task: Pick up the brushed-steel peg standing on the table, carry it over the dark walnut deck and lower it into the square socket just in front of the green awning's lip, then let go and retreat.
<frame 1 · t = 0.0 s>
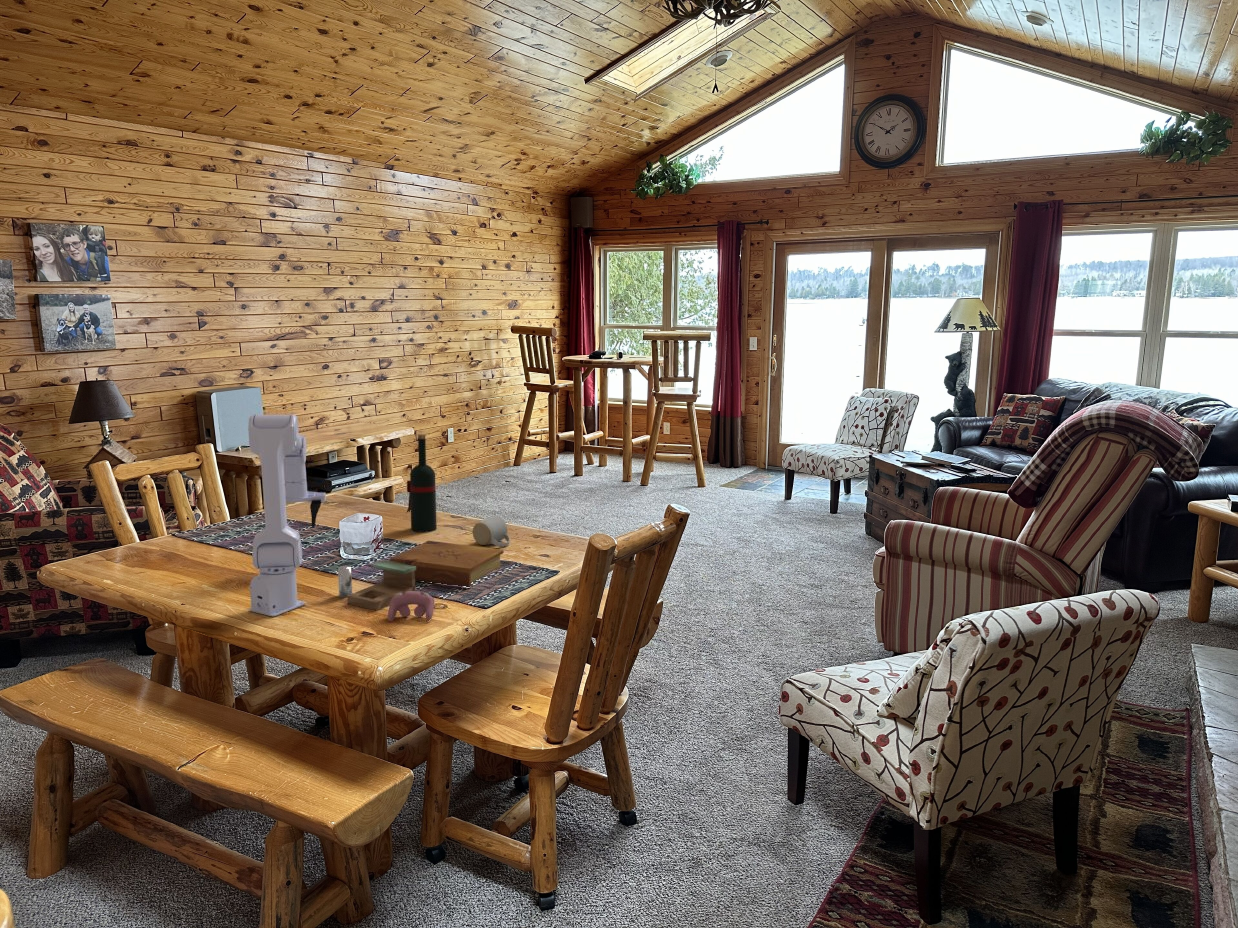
hand: (298, 527, 214), 11 cm above the table, tool pointing down, fingers open, 7 cm apart
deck: (382, 598, 192), on the table
peg: (345, 595, 194), on the table
video game controller: (411, 618, 181), on the table
diary: (448, 575, 213), on the table
wine bottle: (420, 529, 255), on the table
ceramic mug: (493, 544, 241), on the table
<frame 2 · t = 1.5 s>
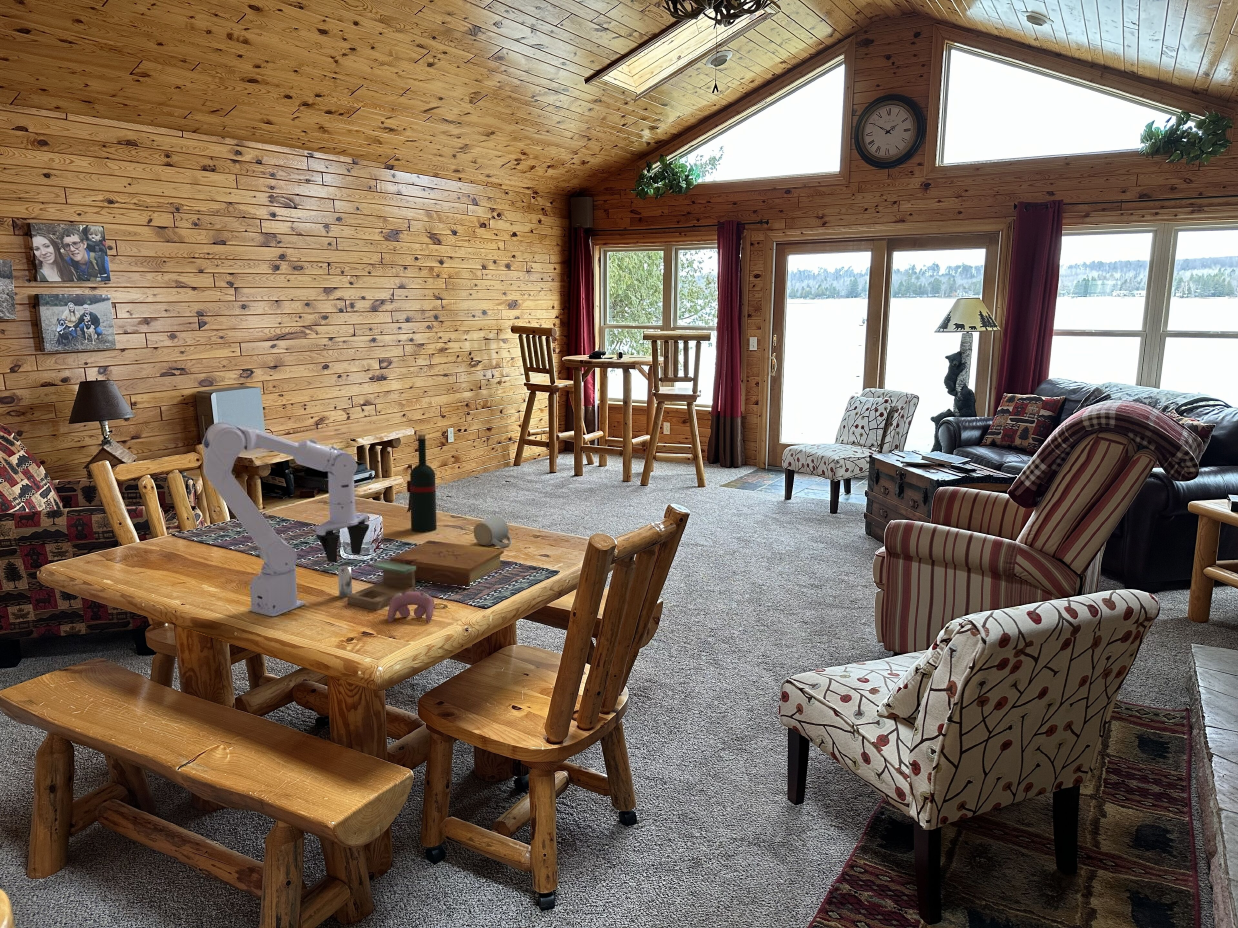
hand: (344, 557, 192), 9 cm above the table, tool pointing down, fingers open, 7 cm apart
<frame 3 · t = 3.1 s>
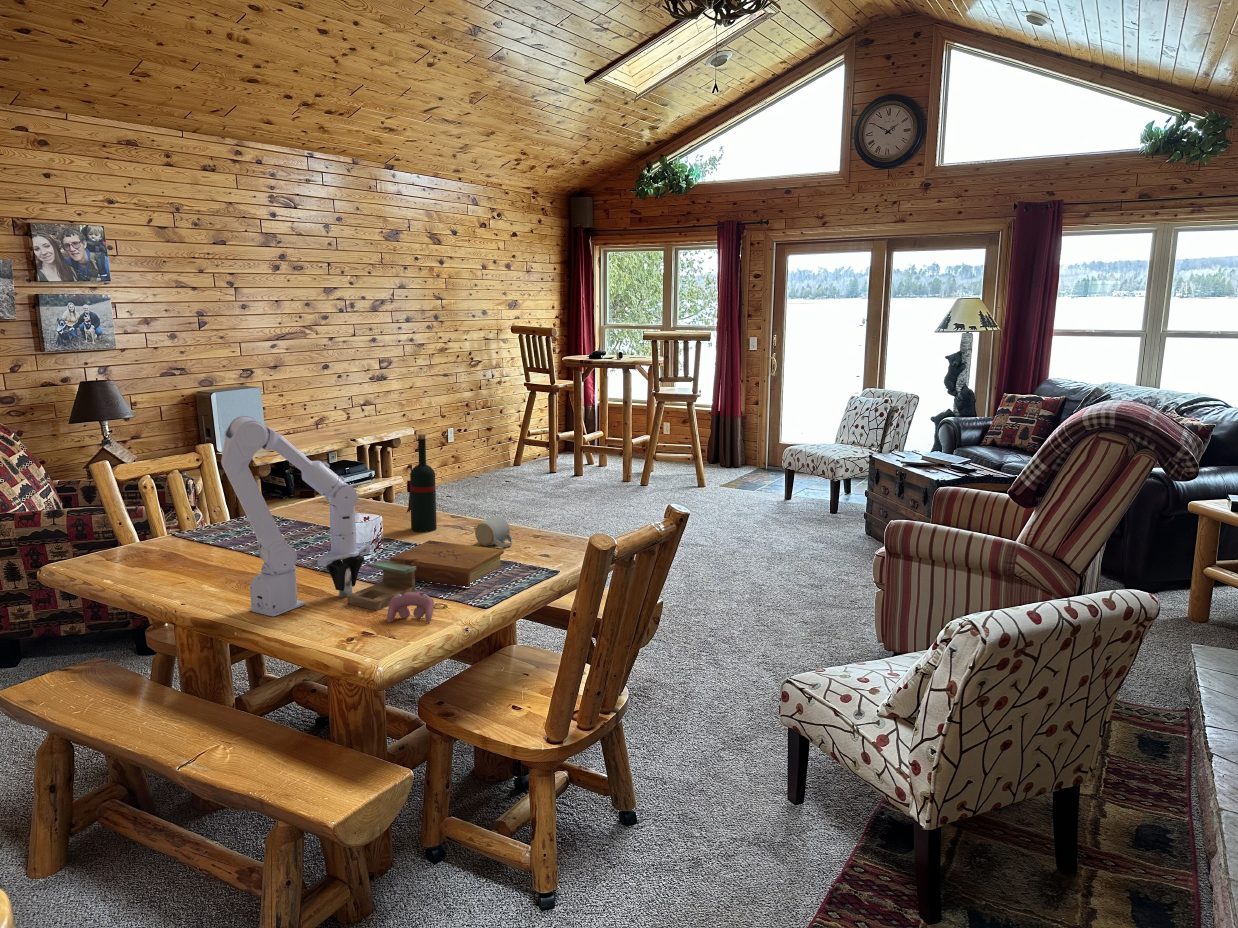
hand: (345, 587, 194), 2 cm above the table, tool pointing down, fingers closed on peg, 3 cm apart
peg: (345, 595, 194), on the table, touching gripper
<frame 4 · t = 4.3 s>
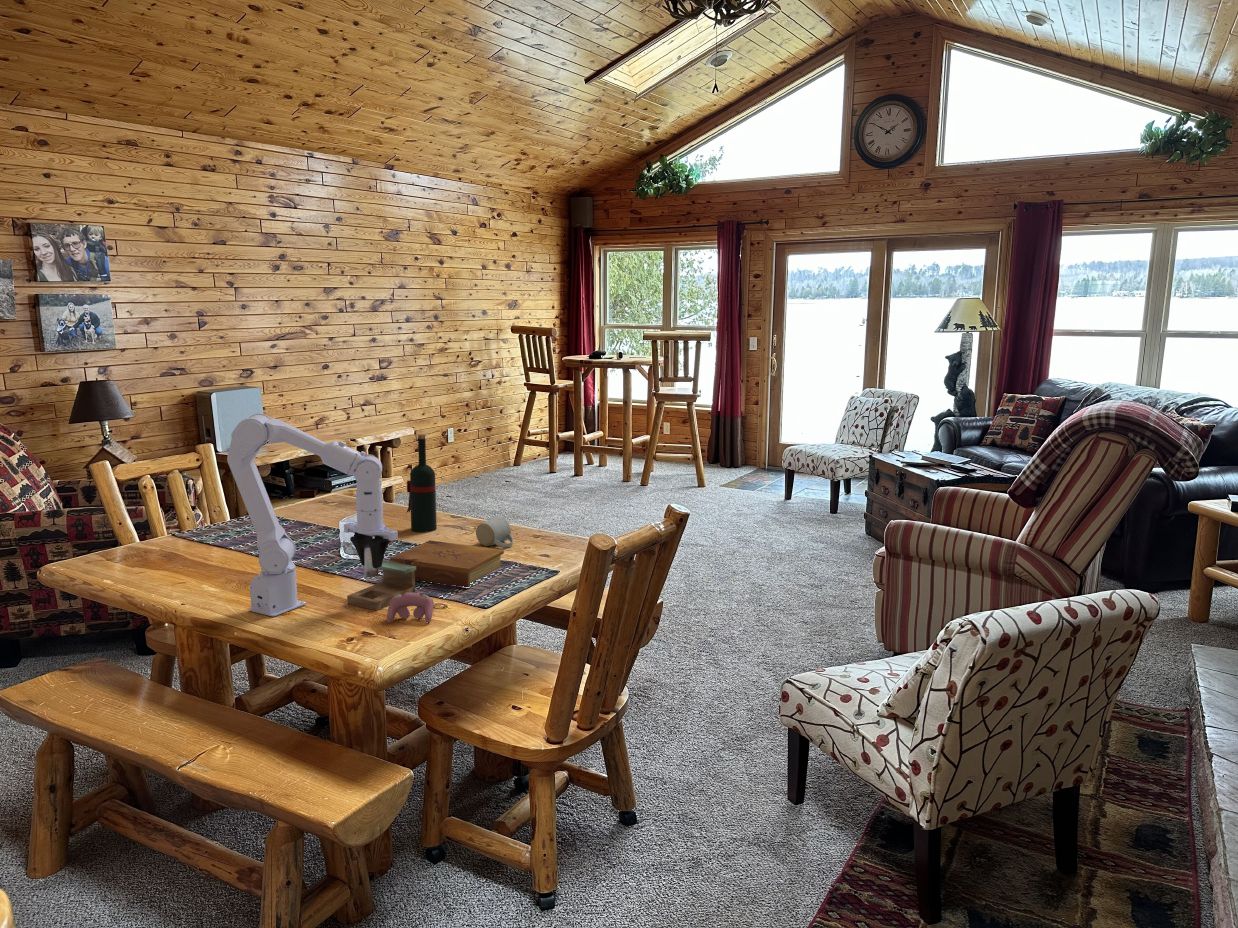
hand: (371, 565, 188), 9 cm above the table, tool pointing down, fingers closed on peg, 3 cm apart
peg: (371, 575, 188), point 7 cm above the table, touching gripper
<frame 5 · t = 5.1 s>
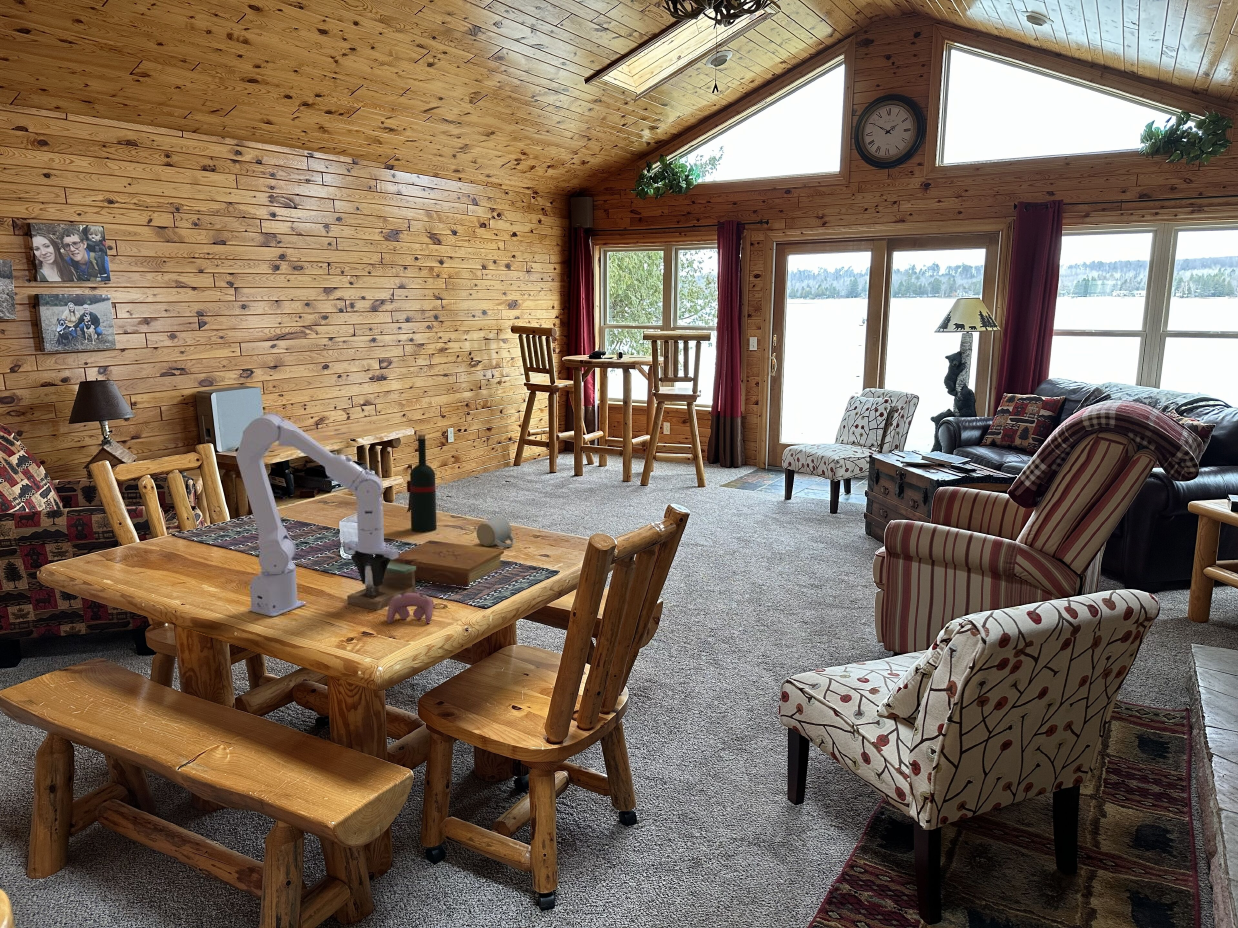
hand: (372, 583, 189), 5 cm above the table, tool pointing down, fingers closed on peg, 3 cm apart
peg: (372, 593, 189), point 2 cm above the table, touching gripper
when the fingers open (3 cm above the table, at t = 5.7 s): peg stays where it is, resting in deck.
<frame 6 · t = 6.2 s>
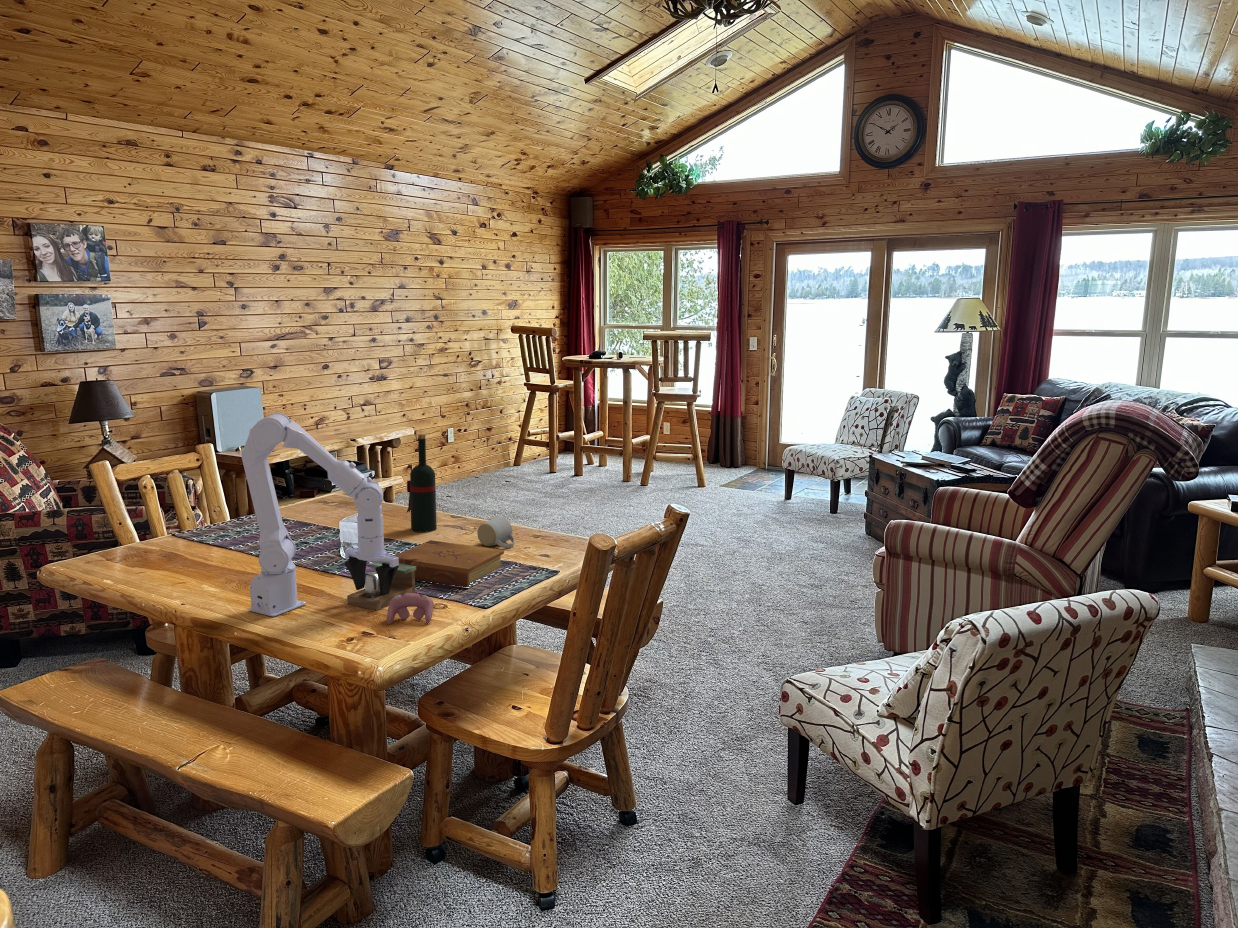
hand: (372, 591, 189), 3 cm above the table, tool pointing down, fingers open, 7 cm apart
peg: (372, 602, 190), resting in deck
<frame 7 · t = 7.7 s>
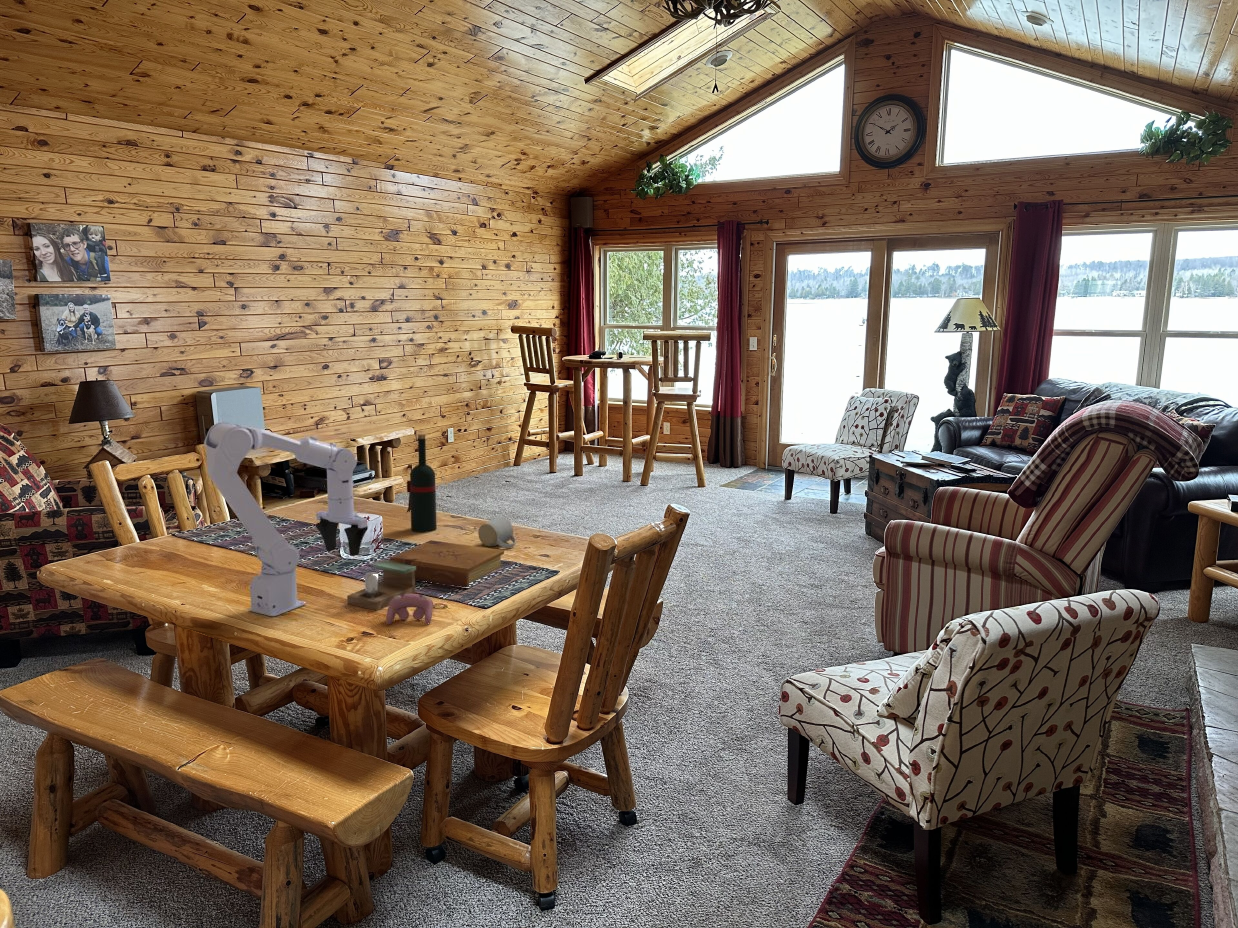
hand: (342, 552, 195), 10 cm above the table, tool pointing down, fingers open, 7 cm apart
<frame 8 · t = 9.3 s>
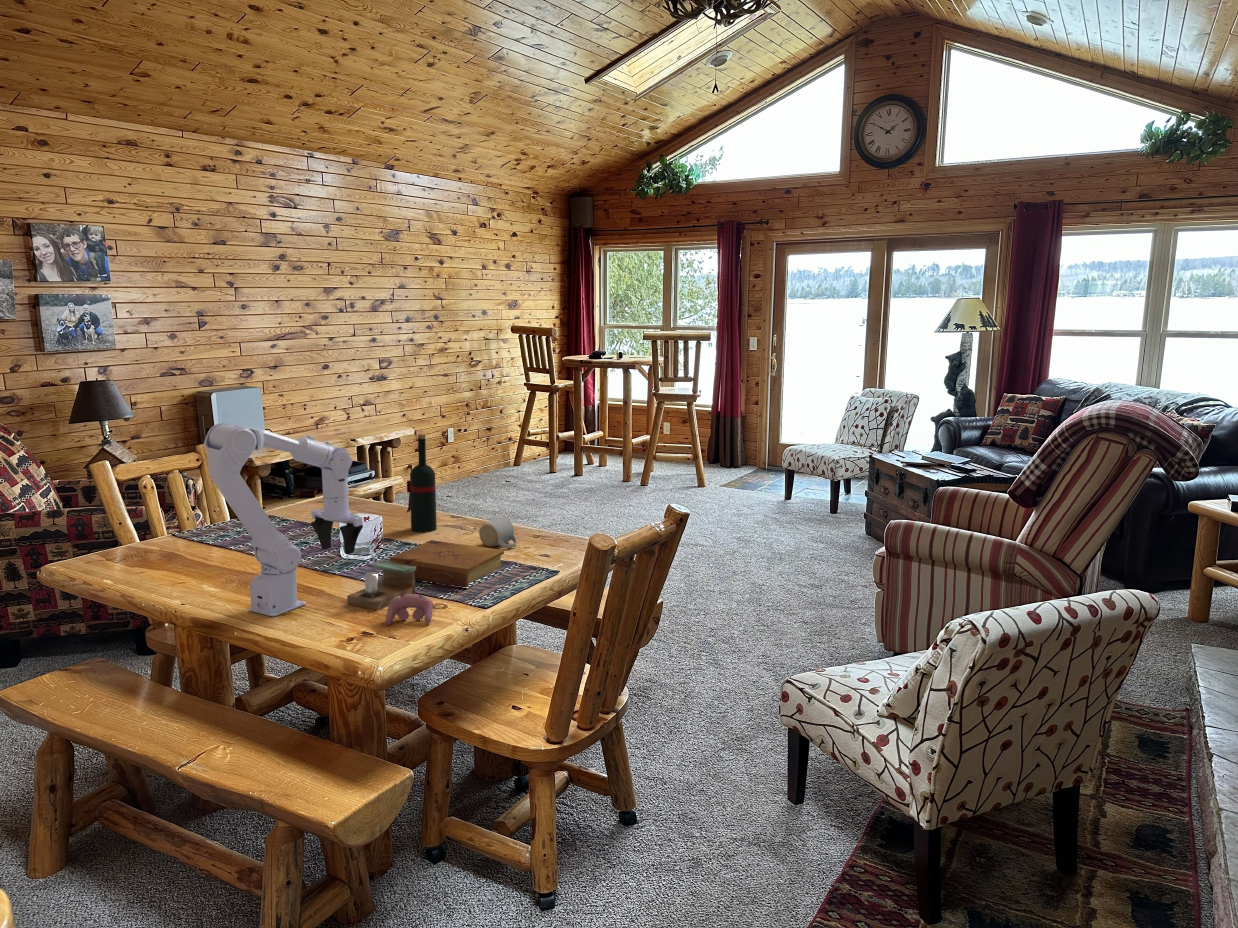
hand: (337, 551, 196), 10 cm above the table, tool pointing down, fingers open, 7 cm apart
at the end: peg 0.2 cm from the target spot on the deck, point 0.0 cm above the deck's base; peg tilted 0°; the gripper is holding nothing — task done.
